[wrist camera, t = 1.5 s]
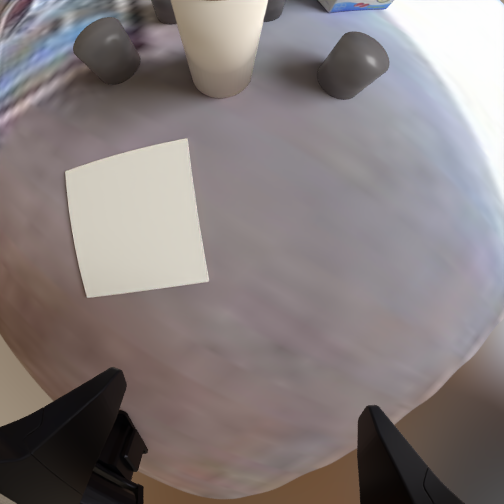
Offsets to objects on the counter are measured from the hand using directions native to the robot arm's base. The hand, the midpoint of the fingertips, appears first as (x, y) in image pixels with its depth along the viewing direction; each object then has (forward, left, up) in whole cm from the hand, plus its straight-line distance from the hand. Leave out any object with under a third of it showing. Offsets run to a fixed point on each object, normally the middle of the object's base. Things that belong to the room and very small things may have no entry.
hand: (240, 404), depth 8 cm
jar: (+1, +17, -11) cm, 20 cm away
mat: (-7, +7, -11) cm, 15 cm away
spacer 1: (-7, +20, -11) cm, 24 cm away
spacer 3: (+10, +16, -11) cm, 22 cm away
